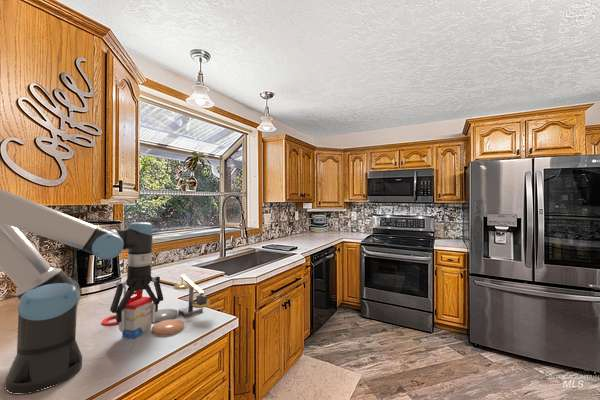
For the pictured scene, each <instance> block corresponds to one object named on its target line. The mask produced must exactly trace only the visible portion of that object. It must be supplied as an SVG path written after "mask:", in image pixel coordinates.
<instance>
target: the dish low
mask: <svg viewBox="0 0 600 400" xmlns="http://www.w3.org/2000/svg"><path fill="white" fill-rule="evenodd" d="M183 329H185V321H184V320H181V319H177V318H174V319H170V320H164V321H161V322H159V323H154V325H153V326H151V333H152V334H153V335H154V336H158V337H166V336H171V335H174V334H175V335H176V334H178V333H180V332H181V331H183Z"/></svg>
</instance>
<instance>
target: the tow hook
mask: <svg viewBox="0 0 600 400" xmlns="http://www.w3.org/2000/svg"><path fill="white" fill-rule="evenodd" d="M126 291H127V285H125V287H124V288H123V296H124V295H125V294H126ZM112 319H116V314H113V315H110V316H107V317H105V318H104V319H103V320H102V321H101V325H102V326H106V327H108V326H109V327H110V326H116V325H119V323H118V322H117V321H116V320H114V321H111V322H110V320H112Z"/></svg>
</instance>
